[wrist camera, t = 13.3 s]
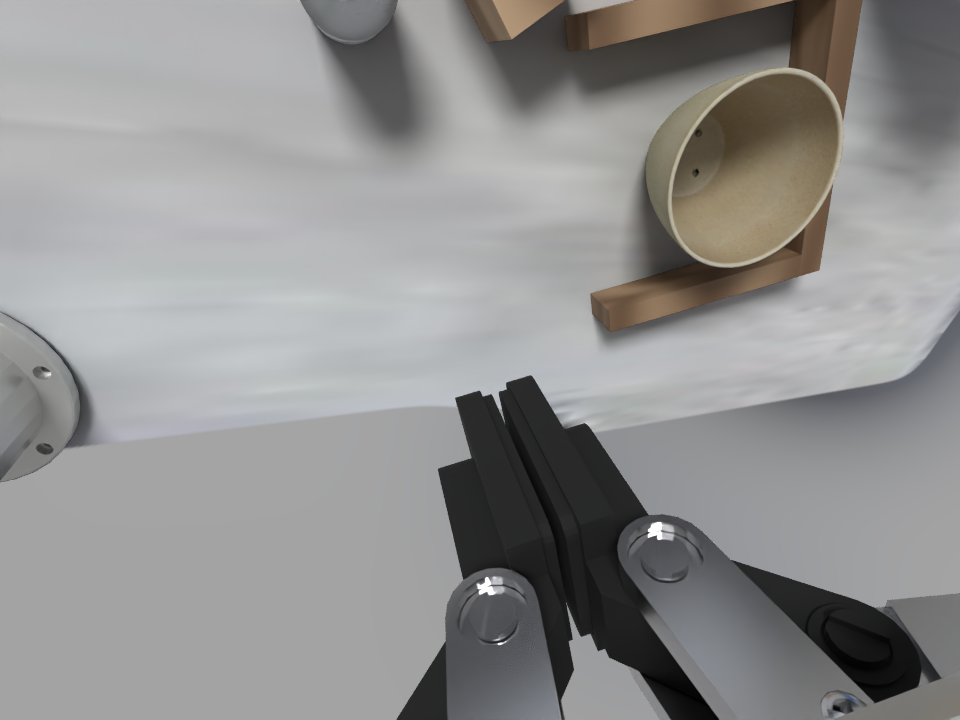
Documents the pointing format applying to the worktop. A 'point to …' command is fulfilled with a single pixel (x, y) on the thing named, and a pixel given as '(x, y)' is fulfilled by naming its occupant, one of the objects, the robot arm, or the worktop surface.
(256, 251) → the worktop surface
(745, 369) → the worktop surface
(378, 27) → the grey metal cylinder
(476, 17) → the walnut block
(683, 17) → the bay
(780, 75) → the flower pot
